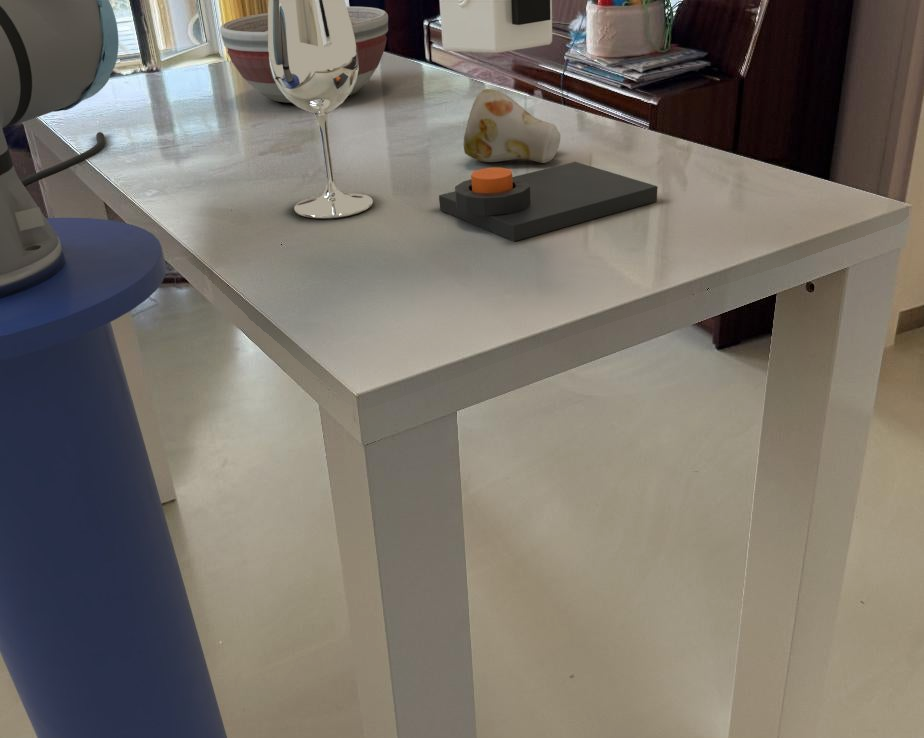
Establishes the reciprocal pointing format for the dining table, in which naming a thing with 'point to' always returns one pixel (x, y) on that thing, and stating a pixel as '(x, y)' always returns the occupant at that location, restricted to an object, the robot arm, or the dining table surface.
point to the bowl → (252, 52)
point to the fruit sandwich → (507, 131)
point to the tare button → (491, 180)
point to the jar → (488, 27)
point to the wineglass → (316, 81)
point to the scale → (548, 200)
